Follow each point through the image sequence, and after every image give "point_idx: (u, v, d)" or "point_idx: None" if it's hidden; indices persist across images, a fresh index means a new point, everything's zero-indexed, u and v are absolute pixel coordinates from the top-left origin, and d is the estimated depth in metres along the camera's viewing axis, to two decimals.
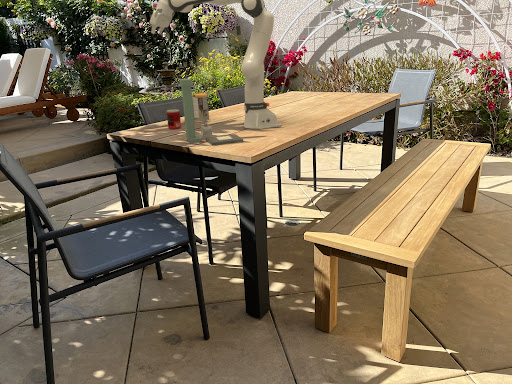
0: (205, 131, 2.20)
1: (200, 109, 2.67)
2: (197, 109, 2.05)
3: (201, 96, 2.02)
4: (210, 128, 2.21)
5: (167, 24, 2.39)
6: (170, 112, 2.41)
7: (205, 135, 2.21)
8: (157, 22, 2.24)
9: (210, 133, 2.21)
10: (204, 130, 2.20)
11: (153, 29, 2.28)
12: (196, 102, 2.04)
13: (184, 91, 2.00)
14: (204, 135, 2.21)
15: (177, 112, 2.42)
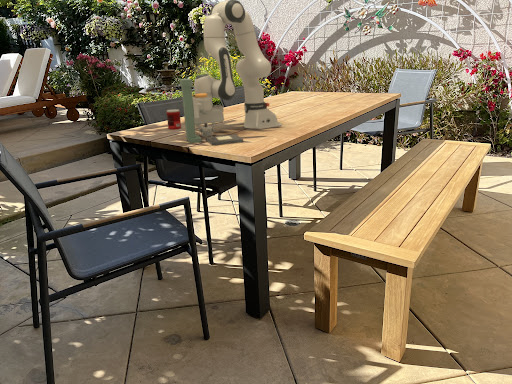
0: (205, 131, 2.20)
1: None
2: (197, 109, 2.05)
3: (201, 96, 2.02)
4: (210, 128, 2.21)
5: None
6: (170, 112, 2.41)
7: (205, 135, 2.21)
8: None
9: (210, 133, 2.21)
10: (204, 130, 2.20)
11: None
12: (196, 102, 2.04)
13: (184, 91, 2.00)
14: (204, 135, 2.21)
15: (177, 112, 2.42)
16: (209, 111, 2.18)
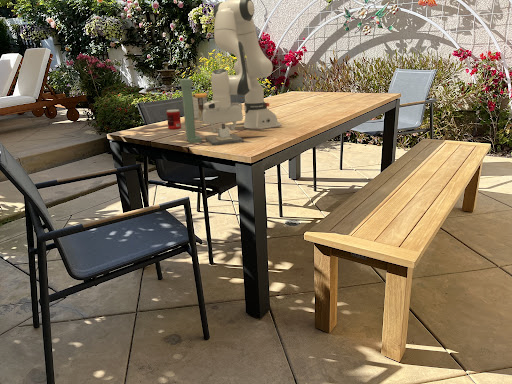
0: (223, 133, 2.04)
1: (200, 109, 2.67)
2: (197, 109, 2.05)
3: (201, 96, 2.02)
4: (228, 130, 2.04)
5: None
6: (170, 112, 2.41)
7: (223, 137, 2.05)
8: None
9: (228, 135, 2.05)
10: (222, 132, 2.04)
11: None
12: (196, 102, 2.04)
13: (184, 91, 2.00)
14: (221, 137, 2.05)
15: (177, 112, 2.42)
16: (227, 109, 2.01)
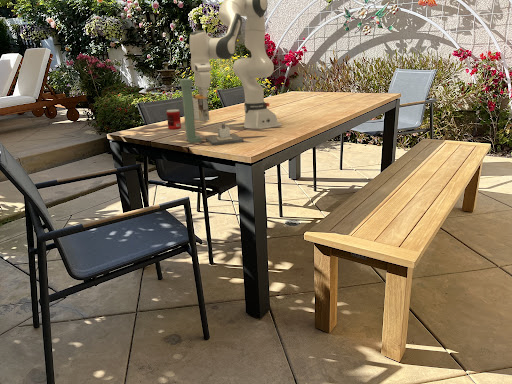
0: (223, 133, 2.04)
1: (200, 109, 2.67)
2: (197, 110, 2.05)
3: (201, 97, 2.03)
4: (228, 130, 2.04)
5: (201, 83, 1.91)
6: (170, 112, 2.41)
7: (223, 137, 2.05)
8: (195, 80, 2.05)
9: (228, 135, 2.05)
10: (222, 132, 2.04)
11: None
12: (196, 103, 2.04)
13: (184, 91, 2.00)
14: (221, 137, 2.05)
15: (177, 112, 2.42)
16: None
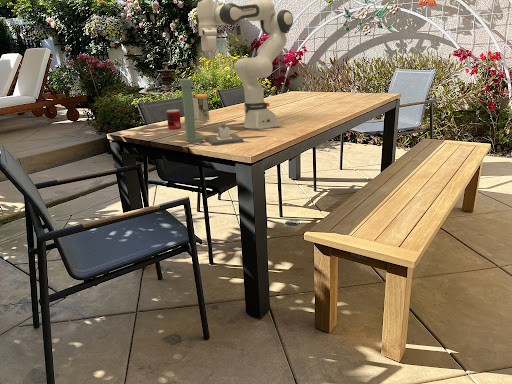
0: (223, 133, 2.04)
1: (200, 109, 2.67)
2: (197, 110, 2.05)
3: (201, 97, 2.03)
4: (228, 130, 2.04)
5: (208, 46, 2.08)
6: (170, 112, 2.41)
7: (223, 137, 2.05)
8: (202, 46, 2.22)
9: (228, 135, 2.05)
10: (222, 132, 2.04)
11: None
12: (196, 103, 2.04)
13: (184, 91, 2.00)
14: (221, 137, 2.05)
15: (177, 112, 2.42)
16: None
